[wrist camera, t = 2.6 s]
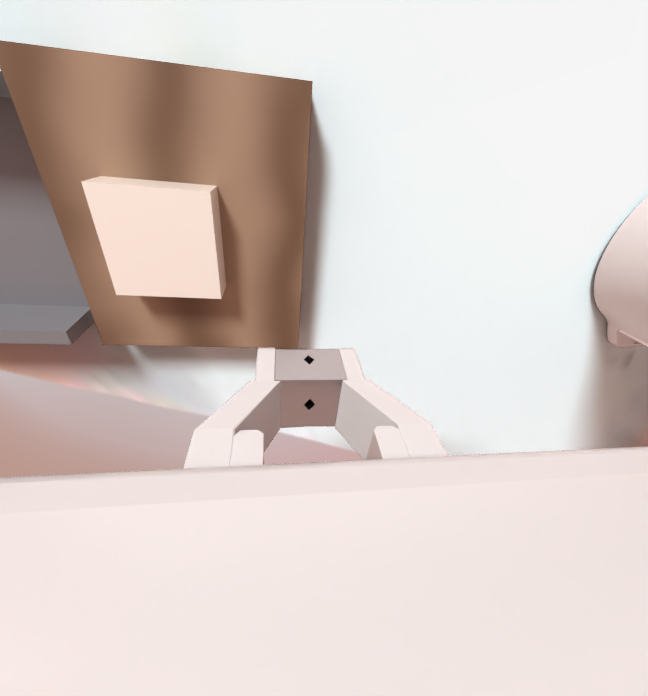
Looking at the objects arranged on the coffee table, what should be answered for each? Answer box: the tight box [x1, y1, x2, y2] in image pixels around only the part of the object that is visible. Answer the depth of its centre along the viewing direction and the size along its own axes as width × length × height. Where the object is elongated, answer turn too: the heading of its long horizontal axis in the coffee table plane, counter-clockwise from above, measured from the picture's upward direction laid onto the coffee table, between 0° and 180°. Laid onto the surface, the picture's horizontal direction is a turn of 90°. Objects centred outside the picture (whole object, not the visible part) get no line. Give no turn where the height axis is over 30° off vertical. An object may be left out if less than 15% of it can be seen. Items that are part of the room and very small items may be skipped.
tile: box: [81, 176, 226, 299], centre depth 18 cm, size 6×6×2 cm
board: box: [0, 41, 312, 348], centre depth 20 cm, size 14×16×2 cm
